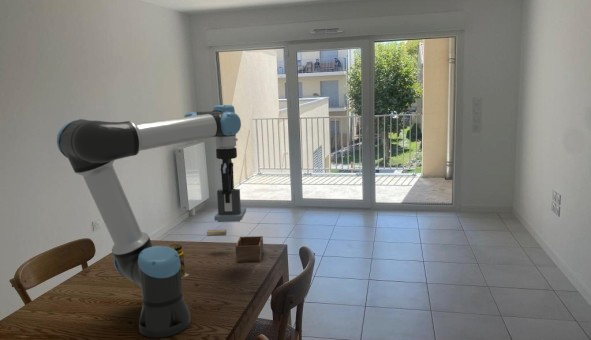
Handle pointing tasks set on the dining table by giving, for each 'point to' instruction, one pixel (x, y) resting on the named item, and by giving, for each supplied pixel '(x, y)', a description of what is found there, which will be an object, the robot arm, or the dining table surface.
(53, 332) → the dining table surface
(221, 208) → the grey slotted stand
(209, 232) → the key
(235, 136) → the robot arm
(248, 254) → the open wooden box
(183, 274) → the condiment
